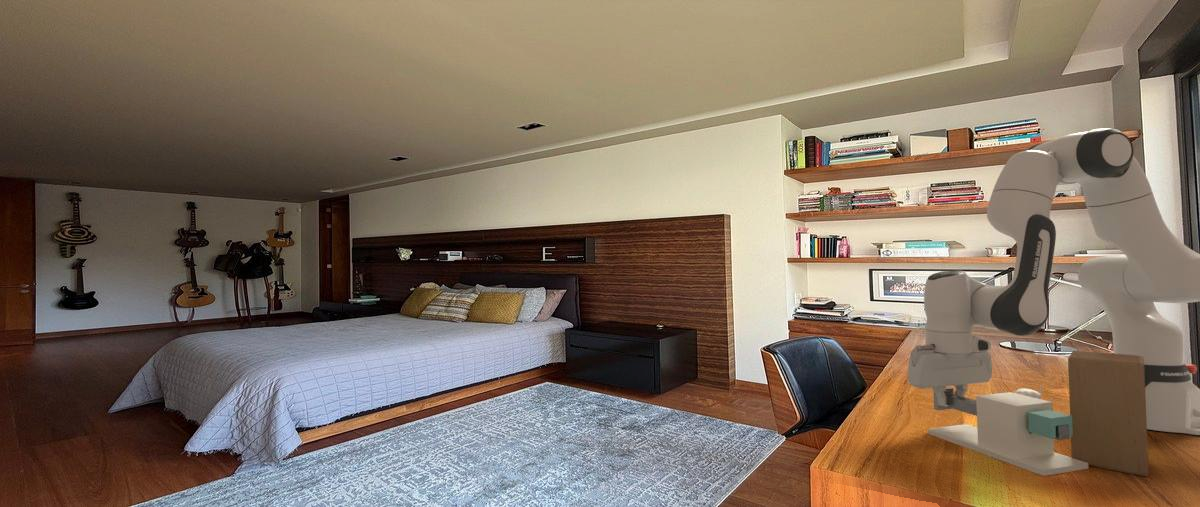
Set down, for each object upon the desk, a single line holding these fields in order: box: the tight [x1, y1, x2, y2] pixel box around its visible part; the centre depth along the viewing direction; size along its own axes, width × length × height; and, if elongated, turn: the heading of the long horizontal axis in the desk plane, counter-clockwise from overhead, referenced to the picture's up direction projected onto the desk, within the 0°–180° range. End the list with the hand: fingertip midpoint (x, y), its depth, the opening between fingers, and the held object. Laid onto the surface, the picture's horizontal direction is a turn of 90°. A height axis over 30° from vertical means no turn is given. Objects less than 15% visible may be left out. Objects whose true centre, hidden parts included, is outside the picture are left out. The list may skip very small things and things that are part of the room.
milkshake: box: [1014, 384, 1044, 399], centre depth 116 cm, size 5×5×10 cm
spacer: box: [1028, 410, 1073, 440], centre depth 96 cm, size 5×4×4 cm
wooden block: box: [1067, 350, 1150, 477], centre depth 98 cm, size 10×10×20 cm
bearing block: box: [927, 391, 1089, 477], centre depth 105 cm, size 11×24×11 cm, turn 14°
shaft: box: [933, 386, 1070, 441], centre depth 106 cm, size 5×25×5 cm, turn 14°
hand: (950, 404), depth 116 cm, fingers closed on shaft, 2 cm apart
